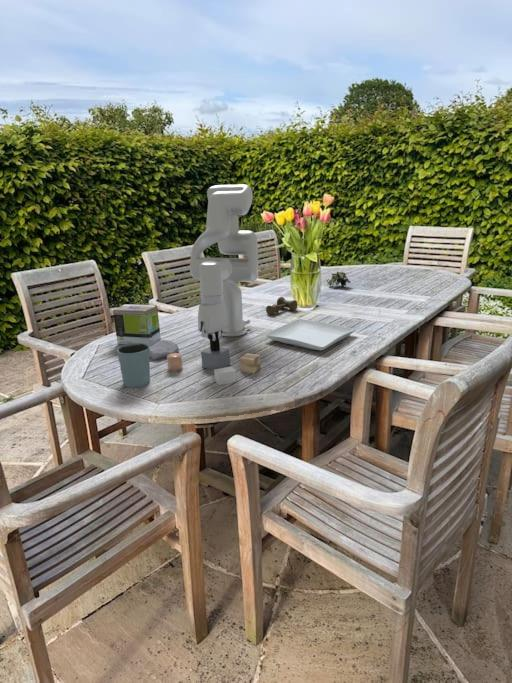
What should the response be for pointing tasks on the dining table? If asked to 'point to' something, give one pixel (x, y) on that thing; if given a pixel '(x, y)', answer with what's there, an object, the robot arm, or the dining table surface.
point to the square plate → (310, 334)
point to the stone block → (162, 349)
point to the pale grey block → (225, 375)
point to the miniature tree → (338, 279)
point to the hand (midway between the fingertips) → (215, 349)
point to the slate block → (215, 358)
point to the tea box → (137, 324)
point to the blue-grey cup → (134, 364)
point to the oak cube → (250, 363)
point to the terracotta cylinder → (174, 362)
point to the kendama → (281, 306)
